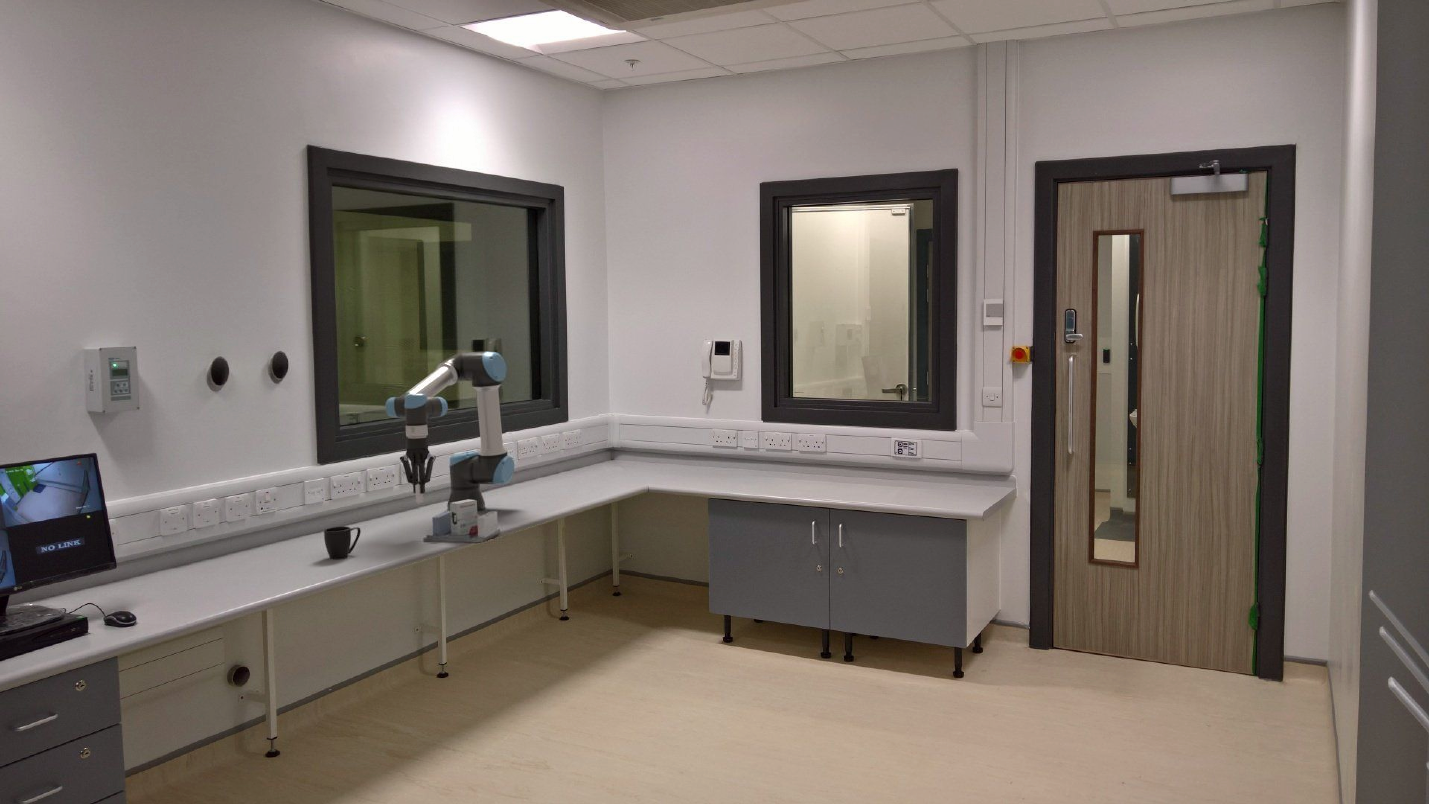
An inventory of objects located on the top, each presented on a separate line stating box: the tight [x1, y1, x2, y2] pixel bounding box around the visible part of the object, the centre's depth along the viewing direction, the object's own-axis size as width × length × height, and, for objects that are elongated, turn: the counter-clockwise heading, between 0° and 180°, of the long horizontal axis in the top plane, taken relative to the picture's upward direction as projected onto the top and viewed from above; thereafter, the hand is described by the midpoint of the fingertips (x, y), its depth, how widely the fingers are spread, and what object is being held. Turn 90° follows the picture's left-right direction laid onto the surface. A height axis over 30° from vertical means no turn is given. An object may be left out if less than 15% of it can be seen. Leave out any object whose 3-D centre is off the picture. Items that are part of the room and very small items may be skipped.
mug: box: [323, 526, 361, 560], centre depth 332 cm, size 8×12×10 cm
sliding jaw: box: [431, 510, 451, 535], centre depth 359 cm, size 12×2×7 cm, turn 170°
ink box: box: [450, 499, 478, 535], centre depth 358 cm, size 9×5×12 cm, turn 141°
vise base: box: [422, 510, 501, 543], centre depth 358 cm, size 16×22×8 cm
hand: (419, 502), depth 360 cm, fingers closed
